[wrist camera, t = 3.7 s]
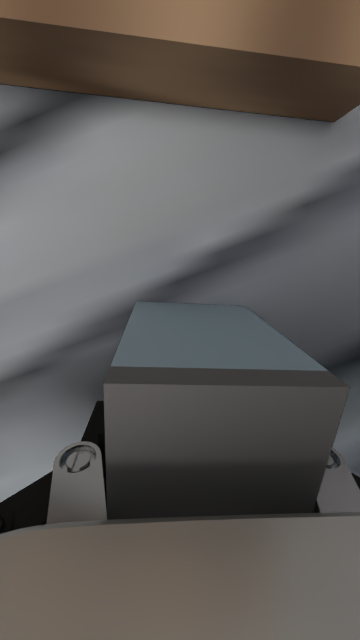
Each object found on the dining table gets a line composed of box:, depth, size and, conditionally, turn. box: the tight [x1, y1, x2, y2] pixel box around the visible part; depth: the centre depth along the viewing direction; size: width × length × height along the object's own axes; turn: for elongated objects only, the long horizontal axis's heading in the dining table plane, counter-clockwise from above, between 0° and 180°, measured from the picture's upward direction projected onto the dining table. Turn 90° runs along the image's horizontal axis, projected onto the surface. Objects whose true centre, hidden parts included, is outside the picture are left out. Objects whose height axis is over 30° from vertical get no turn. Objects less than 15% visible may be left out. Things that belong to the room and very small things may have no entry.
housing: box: [103, 301, 350, 520], centre depth 10 cm, size 5×9×7 cm, turn 176°
